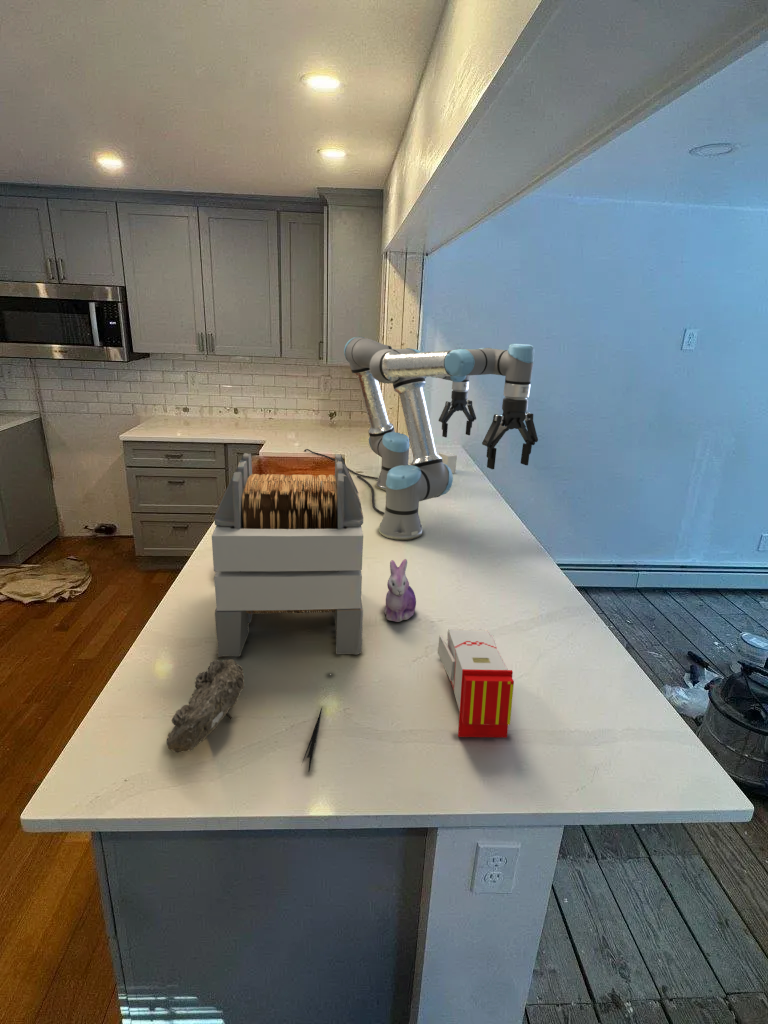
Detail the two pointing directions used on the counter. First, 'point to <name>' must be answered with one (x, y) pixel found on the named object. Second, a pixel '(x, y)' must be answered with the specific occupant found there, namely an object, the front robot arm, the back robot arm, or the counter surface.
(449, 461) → the block
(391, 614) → the figurine
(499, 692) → the toy
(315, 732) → the dark thin pointed pieces
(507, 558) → the counter surface
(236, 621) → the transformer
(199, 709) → the fossil
